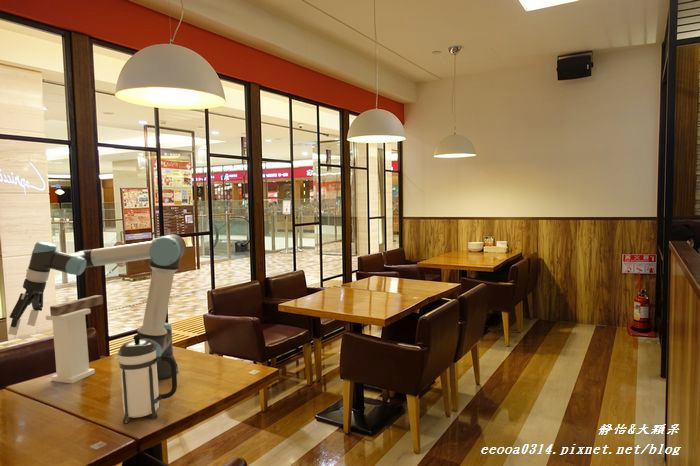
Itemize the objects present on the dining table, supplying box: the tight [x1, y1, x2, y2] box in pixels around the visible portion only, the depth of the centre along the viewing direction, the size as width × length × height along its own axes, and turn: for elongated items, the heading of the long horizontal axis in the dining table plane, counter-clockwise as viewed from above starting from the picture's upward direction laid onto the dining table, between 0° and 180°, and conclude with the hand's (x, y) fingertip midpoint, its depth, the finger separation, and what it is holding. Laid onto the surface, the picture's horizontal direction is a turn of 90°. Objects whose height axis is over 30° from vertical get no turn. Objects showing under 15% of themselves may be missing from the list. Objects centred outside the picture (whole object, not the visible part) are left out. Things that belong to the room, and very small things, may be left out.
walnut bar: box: [49, 294, 104, 316], centre depth 211 cm, size 24×4×4 cm, turn 162°
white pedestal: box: [45, 308, 96, 384], centre depth 207 cm, size 14×12×30 cm
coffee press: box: [114, 334, 178, 424], centre depth 168 cm, size 17×16×30 cm
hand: (21, 329), depth 187 cm, fingers open, 13 cm apart
